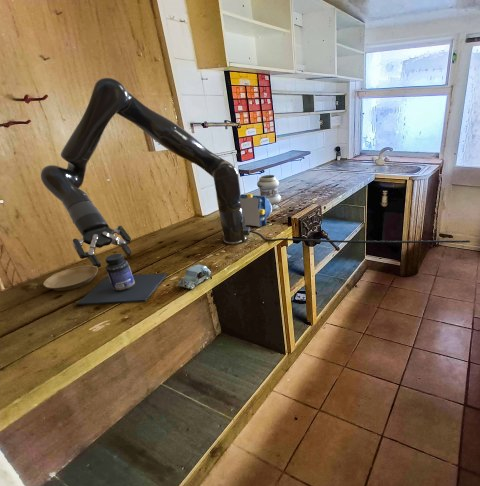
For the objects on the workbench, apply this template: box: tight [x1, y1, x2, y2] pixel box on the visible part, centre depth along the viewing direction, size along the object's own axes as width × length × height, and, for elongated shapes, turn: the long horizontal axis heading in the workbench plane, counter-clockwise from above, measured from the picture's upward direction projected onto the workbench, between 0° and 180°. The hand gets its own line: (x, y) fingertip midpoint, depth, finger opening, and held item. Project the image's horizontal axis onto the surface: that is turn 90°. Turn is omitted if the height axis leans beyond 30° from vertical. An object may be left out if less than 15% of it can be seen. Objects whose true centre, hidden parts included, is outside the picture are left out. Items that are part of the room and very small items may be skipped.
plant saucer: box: [42, 265, 99, 292], centre depth 105 cm, size 15×15×3 cm
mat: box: [76, 273, 168, 306], centre depth 101 cm, size 20×16×1 cm
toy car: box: [177, 263, 212, 290], centre depth 102 cm, size 6×10×5 cm, turn 155°
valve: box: [240, 193, 273, 228], centre depth 153 cm, size 13×15×15 cm
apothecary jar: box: [256, 174, 282, 212], centre depth 171 cm, size 12×12×18 cm
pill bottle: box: [104, 253, 135, 292], centre depth 98 cm, size 6×6×11 cm
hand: (114, 260), depth 97 cm, fingers open, 8 cm apart
